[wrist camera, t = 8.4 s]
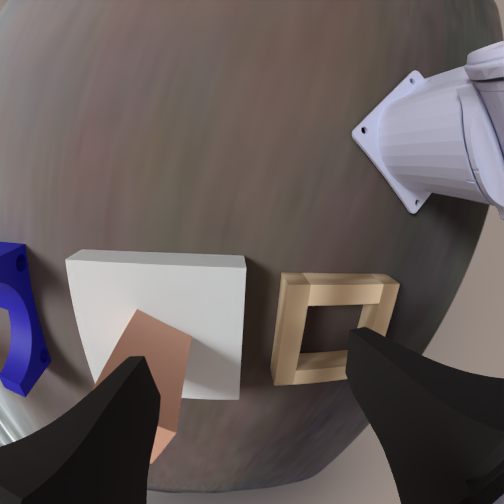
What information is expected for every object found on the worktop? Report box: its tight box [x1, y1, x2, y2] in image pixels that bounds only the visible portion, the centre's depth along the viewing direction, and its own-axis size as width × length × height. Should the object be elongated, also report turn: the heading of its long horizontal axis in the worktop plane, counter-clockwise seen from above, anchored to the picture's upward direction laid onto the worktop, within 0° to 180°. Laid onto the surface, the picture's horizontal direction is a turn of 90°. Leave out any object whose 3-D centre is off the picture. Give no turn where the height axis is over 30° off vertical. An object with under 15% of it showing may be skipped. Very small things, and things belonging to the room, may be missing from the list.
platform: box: [65, 249, 246, 400], centre depth 18 cm, size 12×11×2 cm
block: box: [92, 309, 192, 464], centre depth 13 cm, size 4×4×8 cm
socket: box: [270, 272, 400, 386], centre depth 20 cm, size 9×9×2 cm
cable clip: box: [0, 242, 51, 397], centre depth 15 cm, size 12×4×6 cm, turn 175°
